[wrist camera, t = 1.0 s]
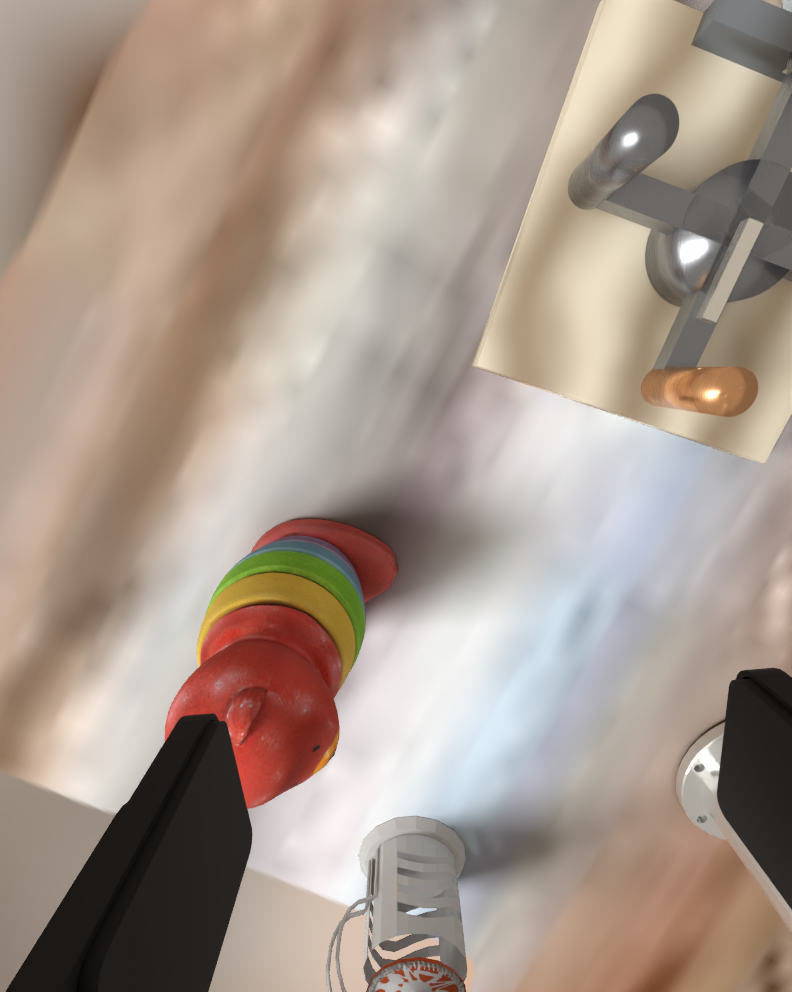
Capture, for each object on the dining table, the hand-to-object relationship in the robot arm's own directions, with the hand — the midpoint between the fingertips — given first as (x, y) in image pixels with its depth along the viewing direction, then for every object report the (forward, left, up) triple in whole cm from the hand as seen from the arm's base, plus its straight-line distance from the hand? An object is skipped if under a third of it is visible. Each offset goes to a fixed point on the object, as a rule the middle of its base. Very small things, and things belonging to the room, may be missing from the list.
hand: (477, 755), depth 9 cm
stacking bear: (+5, +10, -25) cm, 27 cm away
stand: (-11, -18, -25) cm, 32 cm away
